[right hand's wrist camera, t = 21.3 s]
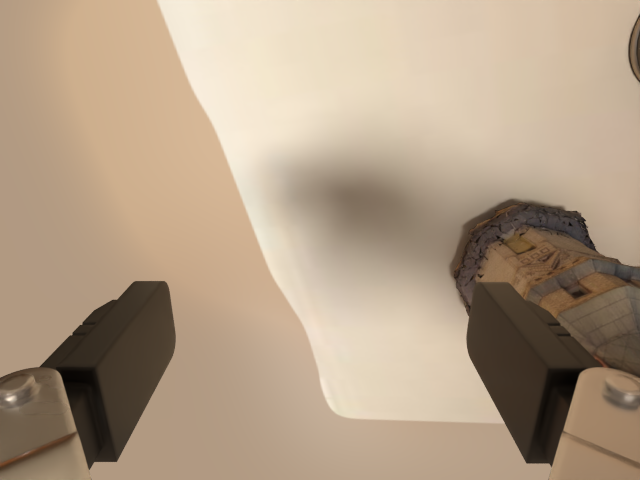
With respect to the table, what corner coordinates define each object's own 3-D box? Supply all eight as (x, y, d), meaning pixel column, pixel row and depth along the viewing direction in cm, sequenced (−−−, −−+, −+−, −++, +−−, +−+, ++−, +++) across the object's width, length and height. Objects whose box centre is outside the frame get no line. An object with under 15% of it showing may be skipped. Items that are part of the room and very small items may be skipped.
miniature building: (596, 205, 43) (1112, 443, 15) (544, 320, 48) (861, 662, 20) (472, 180, 42) (775, 383, 14) (432, 300, 47) (598, 629, 19)
